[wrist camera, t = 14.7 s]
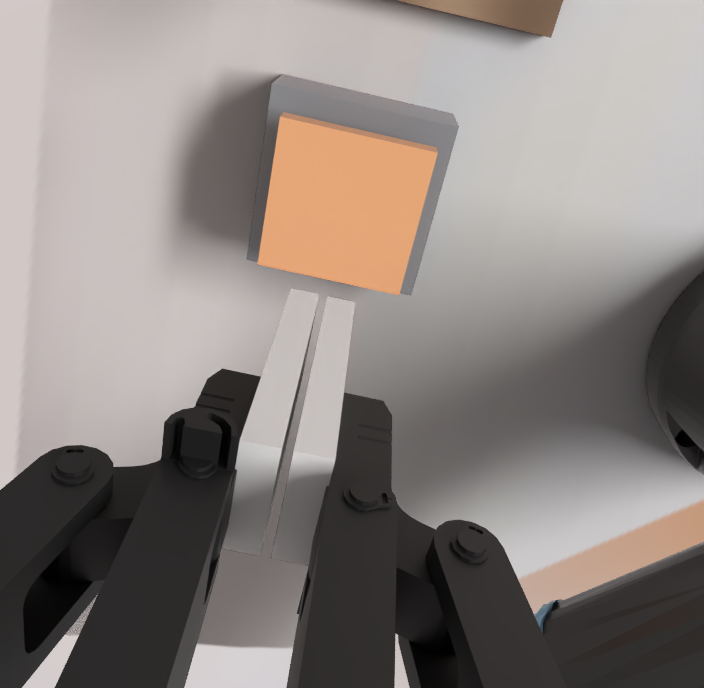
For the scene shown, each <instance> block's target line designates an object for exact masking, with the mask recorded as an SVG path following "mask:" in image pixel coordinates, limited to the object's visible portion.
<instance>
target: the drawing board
mask: <svg viewBox="0 0 704 688" xmlns="http://www.w3.org/2000/svg"><path fill="white" fill-rule="evenodd" d="M397 1H401V2H406V3H410V4H414V5H418V6H422V7H426V8H430V9H435V10H439V11H443V12H447V13H451V14H455V15H460V16H464V17H468V18H472V19H476V20H480V21H484V22H489V23H493V24H497V25H501V26H505V27H509V28H513V29H518V30H522V31H526V32H530V33H534V34H538V35H542V36H547V37H551V36H552V33H553V30H554V27H555V24H556V21H557V18H558V15H559V11H560V8H561V5H562V2H563V0H397Z"/></svg>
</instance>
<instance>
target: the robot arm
mask: <svg viewBox="0 0 704 688" xmlns="http://www.w3.org/2000/svg"><path fill="white" fill-rule="evenodd" d="M318 298H319V294H315V293H311V292H306V291H302V290H297V289H292V288H291V290H290V293H289V296H288V299H287V302H286V305H285V308H284V311H283V314H282V317H281V320H280V323H279V325H278V328H277V331H276V334H275V337H274V340H273V343H272V346H271V349H270V352H269V355H268V358H267V361H266V364H265V367H264V370H263V373H262V376H261V377H259V376H254V375H250V374H245V373H240V372H235V371H231V370H226V369H221V370H220V371H218V372H217V373H215V374H214V375H212V376H211V377H210V378H208V379H207V381H206V383H205V386H204V388H203V390H202V392H201V395H200V396H199V398H198V400H197V403H196V406H195V407H194V408H189V409H183V410H180V411H178V412H176V413H174V414H172V415H171V416H170V417H169V418H168V419H167V420H166V421H165V423H164V434H163V446H162V457H161V460H159V461H157V462H155V463H151V464H148V465H143V466H133V467H113V462H112V461H111V459H110V458H109V456H108V455H107V454H105V453H104V452H102V451H100V450H98V449H97V448H92V447H88V446H83V445H77V446H64V447H61V448H57V449H53V450H51V451H49V452H48V453H46V454H44V455H43V456H41V457H39V458H38V459H37V460H36V461H35V462H33V463H32V464H31V465H30V466H29V467H27V468H26V469H25V470H24V471H23V472H21V473H20V474H19V475H18V476H17V477H16V478H14V479H13V480H12V481H11V482H10V483H8V484H7V485H6V486H5V487H4V488H2V489H1V490H0V688H22V686H23V685H24V684H25V683H26V682H27V680H28V679H29V678H30V677H31V676H32V674H33V673H34V672H35V671H36V669H37V668H38V667H39V666H40V664H41V663H42V662H43V661H44V660H45V658H46V657H47V656H48V655H49V653H50V652H51V651H52V650H53V648H54V647H55V646H56V645H57V643H58V642H59V641H60V640H61V639H62V637H63V636H64V635H65V634H66V632H67V631H68V630H69V629H70V627H71V626H72V625H73V624H74V623H75V621H76V620H77V619H78V618H79V616H80V615H81V614H82V613H83V611H84V610H85V609H86V608H87V606H88V605H89V604H90V603H91V602H92V600H93V599H94V598H95V597H96V595H97V594H98V593H99V594H98V596H97V598H96V600H95V602H94V604H93V607H92V609H91V611H90V613H89V615H88V617H87V620H86V622H85V624H84V626H83V628H82V630H81V632H80V635H79V637H78V639H77V641H76V643H75V645H74V648H73V650H72V652H71V654H70V656H69V658H68V661H67V663H66V665H65V667H64V669H63V672H62V674H61V676H60V678H59V680H58V682H57V684H56V686H55V688H184V686H185V683H186V679H187V676H188V672H189V669H190V665H191V661H192V657H193V654H194V651H195V647H196V644H197V640H198V637H199V633H200V630H201V626H202V623H203V619H204V616H205V612H206V608H207V605H208V601H209V598H210V594H211V591H212V587H213V584H214V580H215V577H216V573H217V569H218V562H219V556H220V551H221V548H222V549H226V550H231V551H236V552H242V553H247V554H252V555H257V556H260V555H261V551H262V547H263V542H264V538H265V534H266V530H267V525H268V521H269V517H270V513H271V508H272V504H273V500H274V496H275V491H276V487H277V483H278V479H279V474H280V470H281V466H282V462H283V457H284V453H285V449H286V445H287V440H288V436H289V432H290V428H291V423H292V419H293V415H294V411H295V406H296V402H297V398H298V394H299V389H300V385H301V381H302V376H303V371H304V366H305V362H306V357H307V352H308V347H309V342H310V337H311V332H312V328H313V323H314V318H315V313H316V308H317V303H318ZM354 309H355V302H352V301H348V300H343V299H338V298H334V297H329V296H327V300H326V304H325V309H324V314H323V318H322V323H321V327H320V332H319V337H318V341H317V346H316V350H315V355H314V360H313V364H312V369H311V374H310V378H309V383H308V387H307V392H306V397H305V401H304V406H303V410H302V415H301V420H300V424H299V429H298V433H297V438H296V443H295V447H294V452H293V457H292V461H291V466H290V471H289V475H288V480H287V485H286V490H285V494H284V499H283V504H282V508H281V513H280V518H279V523H278V527H277V532H276V537H275V541H274V546H273V551H272V555H271V558H272V559H277V560H282V561H287V562H293V563H298V564H303V565H308V566H309V568H308V572H307V576H306V580H305V584H304V588H303V592H302V596H301V599H300V603H299V607H298V611H297V614H299V617H298V623H297V629H296V635H295V641H294V647H293V653H292V659H291V664H290V670H289V677H288V682H287V688H394V676H395V675H394V674H395V633H396V634H398V639H399V646H400V650H401V654H402V658H403V662H404V666H405V670H406V674H407V678H408V682H409V686H410V688H704V542H703V543H700V544H698V545H695V546H693V547H690V548H688V549H686V550H683V551H681V552H678V553H677V554H674V555H671V556H669V557H666V558H664V559H662V560H659V561H657V562H654V563H652V564H650V565H647V566H645V567H643V568H640V569H638V570H635V571H633V572H630V573H628V574H626V575H623V576H621V577H618V578H616V579H614V580H611V581H609V582H607V583H604V584H602V585H599V586H597V587H595V588H592V589H590V590H587V591H585V592H583V593H580V594H578V595H575V596H573V597H571V598H568V599H566V600H555V601H551V602H550V603H548V604H544V605H543V606H542V607H541V608H540V610H539V611H538V612H537V613H536V614H533V611H532V609H531V607H530V605H529V603H528V601H527V599H526V596H525V594H524V592H523V590H522V587H521V585H520V583H519V581H518V579H517V576H516V574H515V572H514V570H513V568H512V565H511V563H510V561H509V559H508V557H507V555H506V552H505V550H504V548H503V546H502V545H501V544H500V542H499V541H498V539H497V538H496V537H495V536H494V535H493V534H492V533H490V532H489V531H488V530H487V529H485V528H484V527H481V526H479V525H477V524H475V523H473V522H469V521H463V520H452V521H446V522H445V523H443V524H442V525H440V526H438V528H437V530H435V529H433V528H431V527H429V526H427V525H425V524H422V523H420V522H418V521H417V520H415V519H413V518H411V517H410V516H409V515H407V514H406V513H405V512H404V511H403V510H402V509H401V508H400V507H399V506H398V505H397V501H396V497H395V495H394V494H393V492H392V490H391V457H392V445H391V443H392V433H391V431H392V415H391V413H390V412H389V410H388V408H387V406H386V405H385V403H384V401H381V400H376V399H371V398H367V397H362V396H357V395H352V394H348V393H344V388H345V380H346V372H347V364H348V357H349V349H350V341H351V333H352V325H353V317H354ZM646 384H647V392H648V398H649V401H650V405H651V408H652V410H653V413H654V415H655V417H656V418H657V420H658V422H659V424H660V425H661V427H662V429H663V430H664V432H665V434H666V436H667V437H668V439H669V440H670V442H671V444H672V445H673V447H674V448H675V449H676V450H677V452H678V453H679V454H680V455H681V456H682V457H683V458H684V459H685V460H686V461H687V462H688V463H689V464H690V465H691V466H693V467H694V468H695V469H696V470H698V471H699V472H701V473H702V474H703V475H704V272H703V273H702V274H701V275H700V276H699V277H698V278H697V279H696V280H695V281H693V282H692V283H691V284H690V285H689V287H688V288H687V289H686V290H685V291H684V292H683V293H682V294H681V295H680V297H679V298H678V299H677V300H676V301H675V303H674V304H673V306H672V307H671V308H670V310H669V311H668V313H667V314H666V316H665V317H664V319H663V321H662V323H661V325H660V327H659V329H658V331H657V333H656V335H655V338H654V340H653V343H652V346H651V349H650V353H649V357H648V363H647V372H646ZM222 545H223V547H222Z"/></svg>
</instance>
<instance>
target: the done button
mask: <svg viewBox="0 0 704 688" xmlns="http://www.w3.org/2000/svg"><path fill="white" fill-rule="evenodd" d="M437 154H438V152H437V147H433V146H429V145H424V144H420V143H416V142H411V141H407V140H403V139H398V138H394V137H390V136H385V135H381V134H377V133H372V132H368V131H364V130H359V129H355V128H350V127H346V126H342V125H337V124H333V123H329V122H324V121H320V120H316V119H311V118H307V117H303V116H298V115H294V114H290V113H285V112H283V114H282V115H281V116H280V120H279V126H278V133H277V139H276V146H275V153H274V159H273V166H272V172H271V179H270V186H269V192H268V199H267V205H266V212H265V218H264V225H263V232H262V238H261V245H260V251H259V258H258V265H262V266H267V267H271V268H276V269H281V270H285V271H290V272H294V273H299V274H303V275H308V276H313V277H317V278H322V279H326V280H331V281H336V282H340V283H345V284H349V285H354V286H358V287H363V288H368V289H372V290H377V291H381V292H386V293H390V294H395V295H399V294H400V290H401V287H402V283H403V279H404V276H405V272H406V268H407V264H408V261H409V257H410V253H411V250H412V246H413V242H414V239H415V235H416V231H417V228H418V224H419V220H420V217H421V213H422V209H423V206H424V202H425V198H426V195H427V191H428V187H429V184H430V180H431V176H432V172H433V169H434V165H435V161H436V158H437Z"/></svg>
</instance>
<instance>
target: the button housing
mask: <svg viewBox="0 0 704 688" xmlns="http://www.w3.org/2000/svg"><path fill="white" fill-rule="evenodd" d="M283 112H285V113H290V114H294V115H298V116H303V117H307V118H311V119H316V120H320V121H324V122H329V123H333V124H337V125H342V126H346V127H350V128H355V129H359V130H364V131H368V132H372V133H377V134H381V135H385V136H390V137H394V138H398V139H403V140H407V141H411V142H416V143H420V144H424V145H429V146H433V147H437V152H438V154H437V158H436V161H435V165H434V169H433V172H432V176H431V180H430V184H429V187H428V191H427V195H426V198H425V202H424V206H423V209H422V213H421V217H420V220H419V224H418V228H417V231H416V235H415V239H414V242H413V246H412V250H411V253H410V257H409V261H408V264H407V268H406V272H405V276H404V279H403V283H402V287H401V290H400V293H402V294H407V295H411V294H412V291H413V287H414V284H415V280H416V277H417V273H418V269H419V266H420V262H421V259H422V255H423V252H424V248H425V245H426V241H427V237H428V234H429V230H430V227H431V223H432V220H433V216H434V213H435V209H436V206H437V202H438V198H439V195H440V191H441V188H442V184H443V181H444V177H445V174H446V170H447V166H448V163H449V159H450V156H451V152H452V149H453V145H454V142H455V138H456V135H457V131H458V127H459V126H458V124H457V122H456V119H455V117H454V115H453V114H451V113H447V112H442V111H438V110H434V109H429V108H425V107H421V106H417V105H412V104H408V103H404V102H399V101H395V100H391V99H387V98H382V97H378V96H374V95H369V94H365V93H361V92H357V91H352V90H348V89H344V88H339V87H335V86H331V85H327V84H322V83H318V82H314V81H309V80H305V79H301V78H297V77H292V76H288V75H284V74H282V75H281V76H280V77H279V78H278V79H276V80H275V81H274V82H273V83H272V85H271V92H270V99H269V106H268V113H267V120H266V127H265V134H264V141H263V148H262V155H261V162H260V169H259V176H258V183H257V190H256V197H255V204H254V211H253V218H252V225H251V232H250V239H249V246H248V253H247V260H251V261H256V262H258V258H259V251H260V245H261V238H262V232H263V225H264V218H265V212H266V205H267V199H268V192H269V186H270V179H271V172H272V166H273V159H274V153H275V146H276V139H277V133H278V126H279V120H280V116H281V115H282V114H283Z"/></svg>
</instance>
